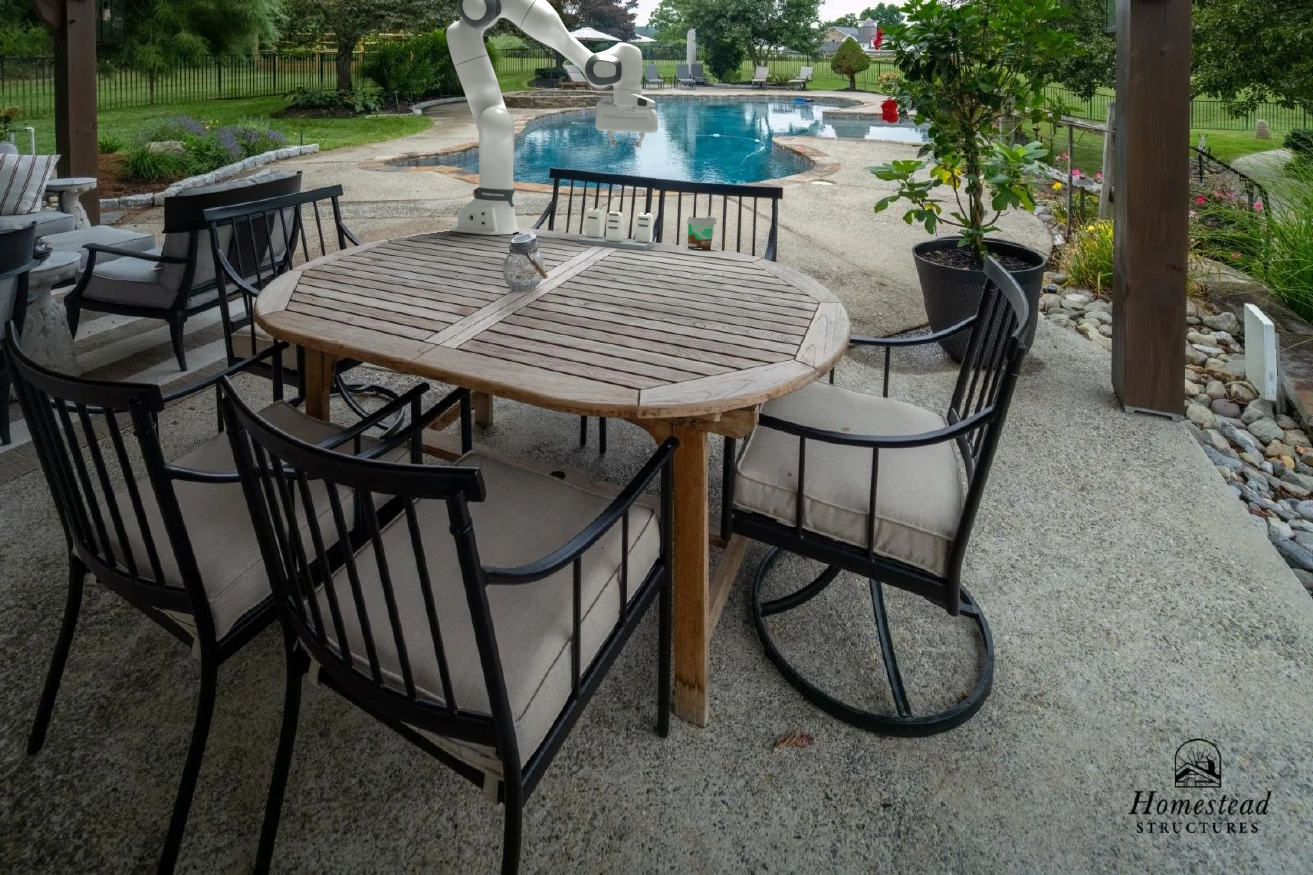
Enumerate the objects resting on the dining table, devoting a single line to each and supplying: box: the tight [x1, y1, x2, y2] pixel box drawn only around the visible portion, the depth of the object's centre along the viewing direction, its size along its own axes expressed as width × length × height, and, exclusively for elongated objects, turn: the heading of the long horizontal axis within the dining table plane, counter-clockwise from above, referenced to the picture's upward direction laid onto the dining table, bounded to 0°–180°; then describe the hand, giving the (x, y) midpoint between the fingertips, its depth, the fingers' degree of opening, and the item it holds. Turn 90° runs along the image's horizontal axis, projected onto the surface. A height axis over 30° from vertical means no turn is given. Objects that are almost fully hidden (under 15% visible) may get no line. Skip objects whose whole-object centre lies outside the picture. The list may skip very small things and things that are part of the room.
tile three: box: [605, 210, 625, 241], centre depth 238 cm, size 5×3×9 cm
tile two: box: [634, 212, 655, 242], centre depth 240 cm, size 5×3×9 cm
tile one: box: [584, 207, 604, 237], centre depth 244 cm, size 5×3×9 cm
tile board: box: [577, 235, 655, 252], centre depth 242 cm, size 22×12×2 cm, turn 76°
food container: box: [686, 215, 717, 250], centre depth 245 cm, size 12×6×10 cm, turn 143°
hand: (625, 146), depth 244 cm, fingers open, 7 cm apart
